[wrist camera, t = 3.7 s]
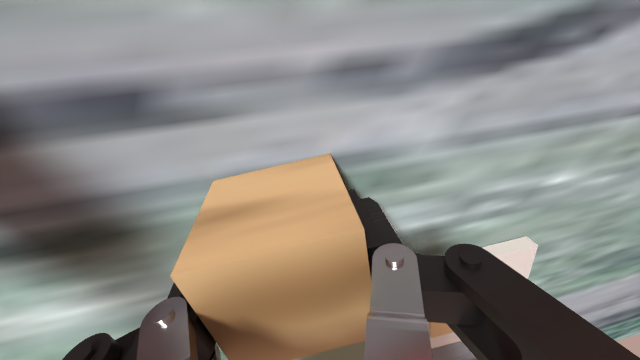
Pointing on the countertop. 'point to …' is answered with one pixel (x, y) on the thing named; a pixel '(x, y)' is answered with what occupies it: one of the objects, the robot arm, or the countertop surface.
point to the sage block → (340, 353)
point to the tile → (512, 254)
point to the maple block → (278, 263)
